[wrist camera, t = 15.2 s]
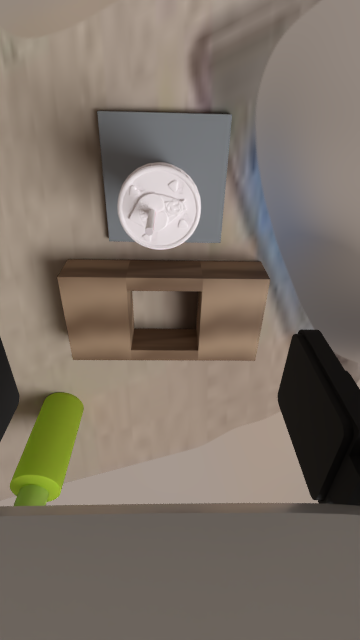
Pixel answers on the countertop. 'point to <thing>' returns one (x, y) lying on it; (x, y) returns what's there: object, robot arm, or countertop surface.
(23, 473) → the soap dispenser
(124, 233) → the mat
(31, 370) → the countertop surface
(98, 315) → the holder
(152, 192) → the smoothie
